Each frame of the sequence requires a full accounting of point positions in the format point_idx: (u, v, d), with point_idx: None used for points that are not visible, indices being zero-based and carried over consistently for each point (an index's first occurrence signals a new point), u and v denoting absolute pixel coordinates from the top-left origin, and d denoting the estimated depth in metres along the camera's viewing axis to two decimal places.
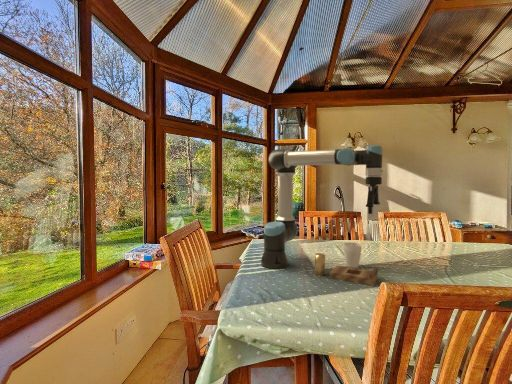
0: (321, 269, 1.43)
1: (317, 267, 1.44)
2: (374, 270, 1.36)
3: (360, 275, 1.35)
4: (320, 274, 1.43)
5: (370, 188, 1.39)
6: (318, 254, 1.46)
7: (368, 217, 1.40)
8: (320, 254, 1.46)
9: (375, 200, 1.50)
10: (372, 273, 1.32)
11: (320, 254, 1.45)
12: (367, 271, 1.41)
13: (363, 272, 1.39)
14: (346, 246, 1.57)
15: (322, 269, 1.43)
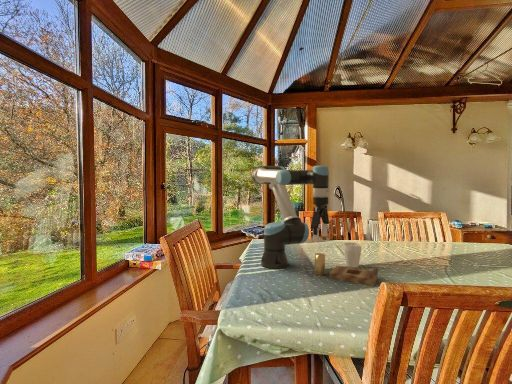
0: (321, 269, 1.43)
1: (317, 267, 1.44)
2: (374, 270, 1.36)
3: (360, 275, 1.35)
4: (320, 274, 1.43)
5: (315, 209, 1.38)
6: (318, 254, 1.46)
7: (313, 238, 1.39)
8: (320, 254, 1.46)
9: (324, 220, 1.49)
10: (372, 273, 1.32)
11: (320, 254, 1.45)
12: (367, 271, 1.41)
13: (363, 272, 1.39)
14: (346, 246, 1.57)
15: (322, 269, 1.43)
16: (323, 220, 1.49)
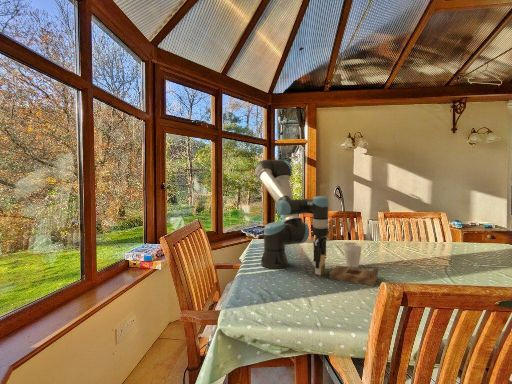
0: (321, 269, 1.43)
1: None
2: (374, 270, 1.36)
3: (360, 275, 1.35)
4: None
5: (315, 244, 1.39)
6: None
7: (316, 271, 1.43)
8: None
9: (322, 253, 1.47)
10: (372, 273, 1.32)
11: None
12: (367, 271, 1.41)
13: (363, 272, 1.39)
14: (346, 246, 1.57)
15: (322, 269, 1.43)
16: (320, 253, 1.48)
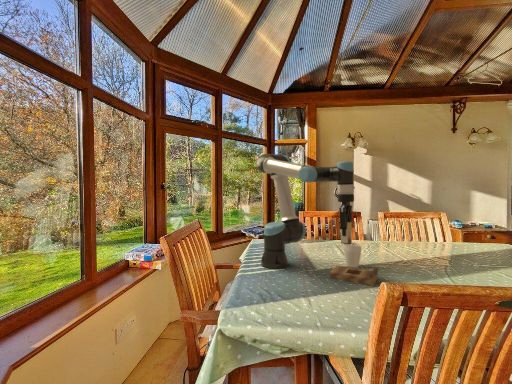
0: (348, 237, 1.37)
1: None
2: (374, 270, 1.36)
3: (360, 275, 1.35)
4: None
5: (341, 209, 1.34)
6: None
7: (342, 239, 1.37)
8: None
9: (348, 221, 1.41)
10: (372, 273, 1.32)
11: (347, 222, 1.39)
12: (367, 271, 1.41)
13: (363, 272, 1.39)
14: (346, 246, 1.57)
15: (349, 237, 1.37)
16: (346, 222, 1.42)
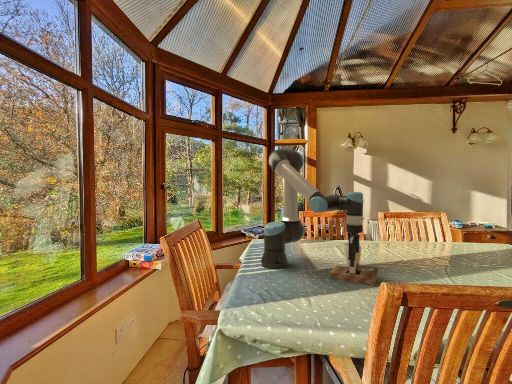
0: (356, 267, 1.37)
1: None
2: (374, 270, 1.36)
3: (360, 275, 1.35)
4: (355, 273, 1.37)
5: (351, 241, 1.33)
6: None
7: (350, 270, 1.38)
8: None
9: (355, 251, 1.41)
10: (372, 273, 1.32)
11: None
12: (367, 271, 1.41)
13: (363, 272, 1.39)
14: (346, 246, 1.57)
15: (357, 267, 1.37)
16: None
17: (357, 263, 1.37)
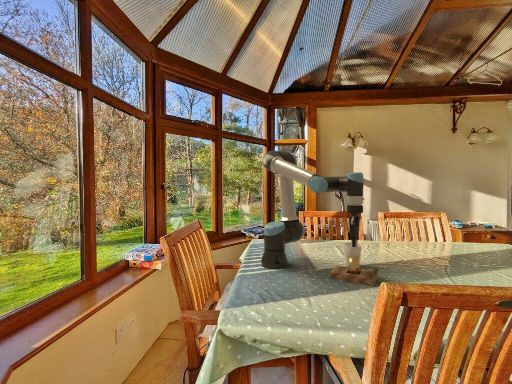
0: (356, 272, 1.38)
1: (351, 271, 1.38)
2: (374, 270, 1.36)
3: (360, 275, 1.35)
4: None
5: (351, 223, 1.33)
6: (352, 257, 1.40)
7: (352, 250, 1.39)
8: (354, 257, 1.40)
9: None
10: (372, 273, 1.32)
11: (355, 257, 1.40)
12: (367, 271, 1.41)
13: (363, 272, 1.39)
14: (346, 246, 1.57)
15: (357, 273, 1.38)
16: None
17: (357, 268, 1.38)
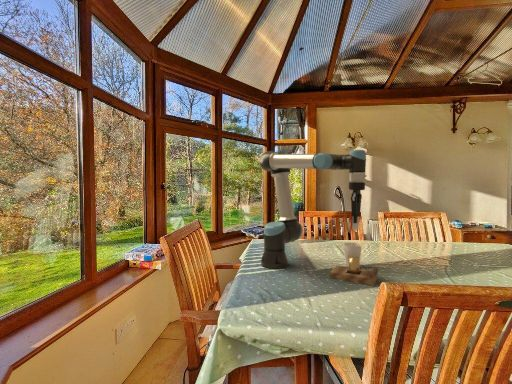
0: (356, 272, 1.38)
1: (351, 271, 1.38)
2: (374, 270, 1.36)
3: (360, 275, 1.35)
4: None
5: (353, 199, 1.36)
6: (352, 257, 1.40)
7: (353, 226, 1.42)
8: (354, 257, 1.40)
9: None
10: (372, 273, 1.32)
11: (355, 257, 1.40)
12: (367, 271, 1.41)
13: (363, 272, 1.39)
14: (346, 246, 1.57)
15: (357, 273, 1.38)
16: None
17: (357, 268, 1.38)
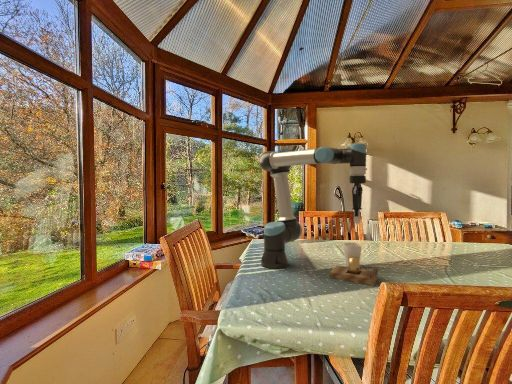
0: (356, 272, 1.38)
1: (351, 271, 1.38)
2: (374, 270, 1.36)
3: (360, 275, 1.35)
4: None
5: (354, 192, 1.37)
6: (352, 257, 1.40)
7: (354, 220, 1.43)
8: (354, 257, 1.40)
9: None
10: (372, 273, 1.32)
11: (355, 257, 1.40)
12: (367, 271, 1.41)
13: (363, 272, 1.39)
14: (346, 246, 1.57)
15: (357, 273, 1.38)
16: None
17: (357, 268, 1.38)
